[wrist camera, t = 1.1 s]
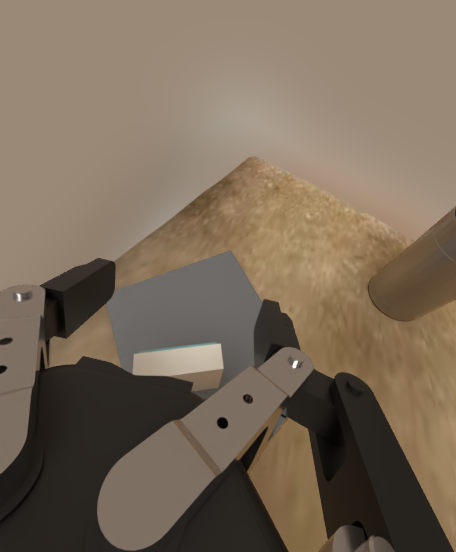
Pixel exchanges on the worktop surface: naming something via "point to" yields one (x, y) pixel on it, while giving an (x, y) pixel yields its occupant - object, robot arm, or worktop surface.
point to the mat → (189, 314)
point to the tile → (183, 364)
